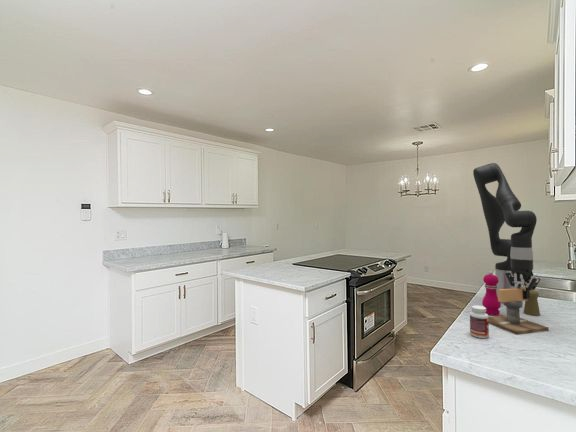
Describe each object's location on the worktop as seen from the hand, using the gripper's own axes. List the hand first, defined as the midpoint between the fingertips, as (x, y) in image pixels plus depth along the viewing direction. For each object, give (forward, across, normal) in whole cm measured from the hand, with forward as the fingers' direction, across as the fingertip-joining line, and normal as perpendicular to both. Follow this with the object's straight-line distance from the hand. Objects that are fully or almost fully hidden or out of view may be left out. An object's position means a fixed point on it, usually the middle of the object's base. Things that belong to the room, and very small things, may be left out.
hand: (522, 298), depth 125 cm
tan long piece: (+3, 0, -5) cm, 5 cm away
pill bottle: (+11, +4, -27) cm, 29 cm away
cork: (+11, -9, +16) cm, 22 cm away
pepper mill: (+11, -15, 0) cm, 19 cm away
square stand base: (+11, 0, -5) cm, 12 cm away
